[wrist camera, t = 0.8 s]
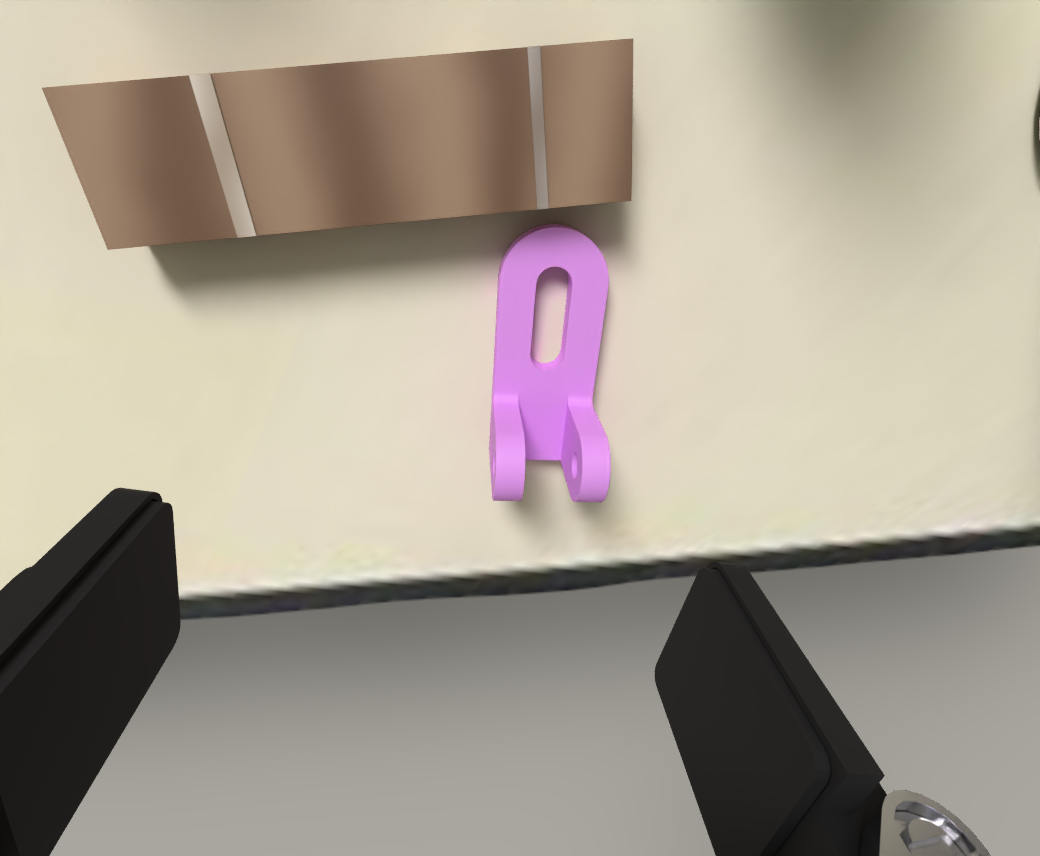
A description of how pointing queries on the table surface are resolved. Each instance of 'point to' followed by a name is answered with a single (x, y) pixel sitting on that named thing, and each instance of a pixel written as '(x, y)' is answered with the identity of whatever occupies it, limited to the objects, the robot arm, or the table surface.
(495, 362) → the bracket
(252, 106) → the walnut plank
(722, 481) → the table surface
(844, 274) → the table surface
